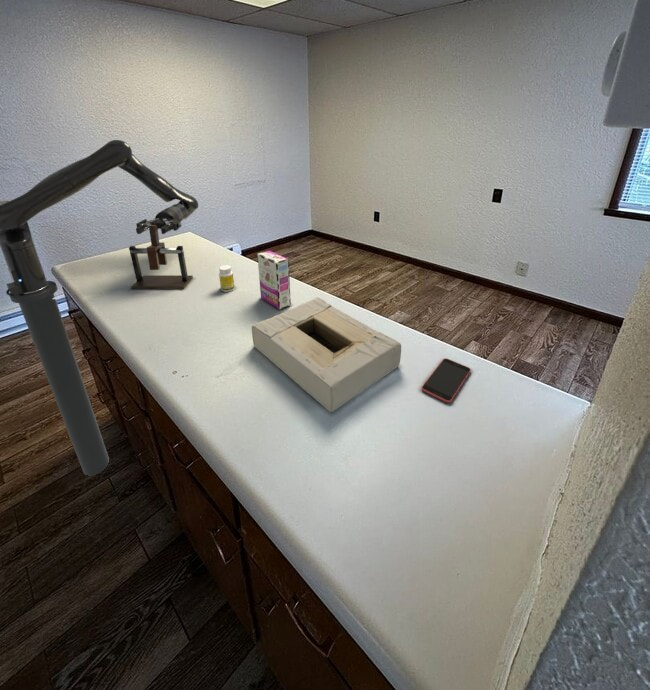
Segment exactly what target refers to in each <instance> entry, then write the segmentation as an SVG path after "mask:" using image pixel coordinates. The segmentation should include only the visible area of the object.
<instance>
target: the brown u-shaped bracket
mask: <svg viewBox="0 0 650 690" xmlns="http://www.w3.org/2000/svg"><path fill="white" fill-rule="evenodd" d="M148 231H149V237H150V245H149V246H147V247H146V248H147V254H146V255H147V260H148V265H149V271H159V270H160V266H166V265H168V258H167V254H158V253H157V250H158V249H160V248H166V245H165V242H164V241H163V242H162V241H161V242H160V237H159V229H157V225H150V226H149V230H148Z"/></svg>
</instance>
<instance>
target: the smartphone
mask: <svg viewBox="0 0 650 690" xmlns="http://www.w3.org/2000/svg"><path fill="white" fill-rule="evenodd" d="M471 370H472V369H471V368H470V367H468V366H466V365H464V364H461V363H458V362H456V361H454V360H452V359H449V358H443V359H442V360H441V362H439V364H438V365H437V366H436V368H435V369H434V370H433V371H432V372H431V374H430V376H429V377H428V378H427V379H426V380H425V382H424V383H423V384H422V385H421V391H423V392H424V393H426V394H427V395H429V396H432V397H434V398H436V399H438V400H440V401H443V402H445V403H446V404H447V403H448V404H450V403H452V401H453V400H454V399H455V396H456V395H457V394H458V393H459V391H460V389H461V387H462V385H463V384H464V382H465V381H466V379H467V378H468V376H469V375H470V373H471Z"/></svg>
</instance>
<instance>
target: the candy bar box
mask: <svg viewBox="0 0 650 690" xmlns="http://www.w3.org/2000/svg"><path fill="white" fill-rule="evenodd" d="M256 255H257V266H258V278H259V291H260V299H261V300H263V301H265V302H266V303H268V304H270V305H271V306H273V307H274V308H275V309H278V310H279V311H280V310H282V309H285V308H287V307H290V306H291V304H292V301H291V282H290V279H291V278H290V260H289V258H287V257H285V256H283V255H280V254H278V253H276V252H274V251H272V250H266V251H262V252H258V253H256Z"/></svg>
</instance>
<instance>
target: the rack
mask: <svg viewBox="0 0 650 690" xmlns="http://www.w3.org/2000/svg"><path fill="white" fill-rule="evenodd" d="M183 246H184V245H178V246H176V247H165V248H160V249H158V250H157V253H158V254H166V255H167V254H169V255H177V258H178V263H179V269H180V275H175V274H174V275H173V274H172V275H171V274H170V275H168V274H167V275H166V274H165V275H154V274H153V275H151V274H150V275H149V274H148V275H143V273H142V269H141V265H140V261H139V257H138V255H142V254H146V255H148V254H147V247H137V246H136V245H130V246H129V247H128V250H129V255H130V259H131V263H132V269H133V272H134V276H135V282H134V283H133V284H132V285H131V286H130V288H131V290H185V289H186V288H187V286H188V285H189V284H190V283H191V281H192V280H193V279H194V278H193V277H194V276H193V275H188V269H187V264H186V258H185V251H184V247H183Z"/></svg>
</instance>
